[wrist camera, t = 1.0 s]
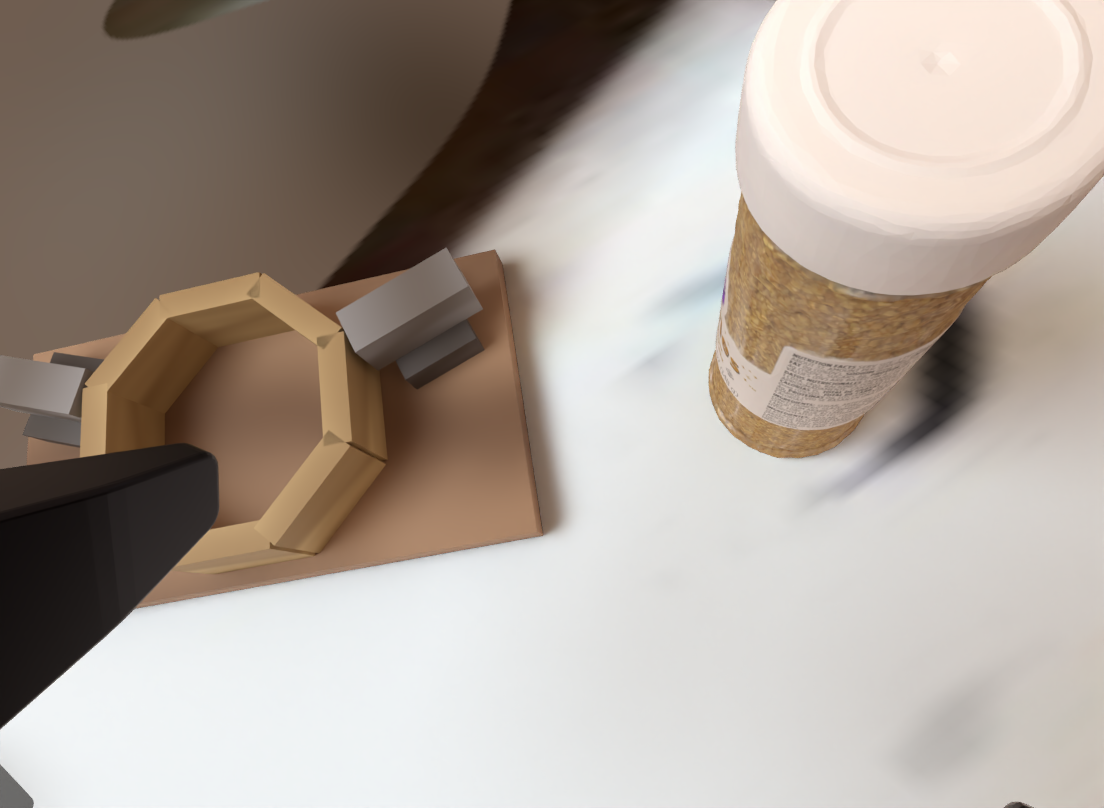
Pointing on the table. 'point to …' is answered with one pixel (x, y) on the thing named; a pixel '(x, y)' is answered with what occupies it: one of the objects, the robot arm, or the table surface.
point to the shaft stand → (310, 417)
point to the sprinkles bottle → (890, 192)
